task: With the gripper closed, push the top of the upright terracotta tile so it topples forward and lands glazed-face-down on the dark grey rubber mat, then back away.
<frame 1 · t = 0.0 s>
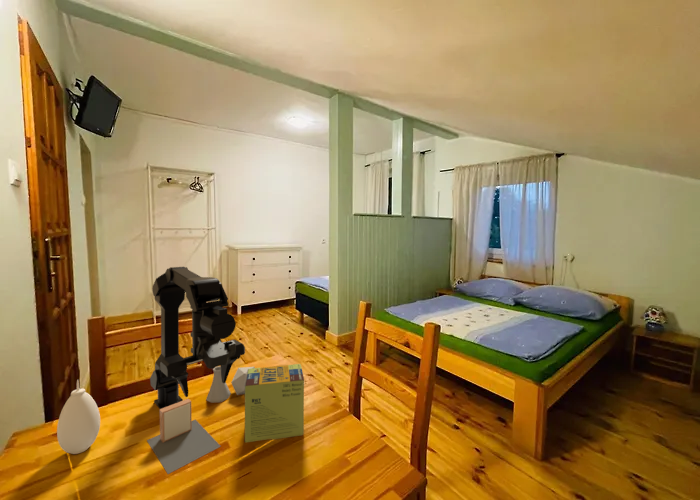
hand: (205, 389, 77), 15 cm above the table, fingers open, 9 cm apart
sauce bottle: (80, 451, 75), on the table
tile: (176, 434, 81), resting on mat
protein box: (274, 428, 85), on the table
mat: (183, 444, 77), on the table
pale grey faceted chunk: (245, 392, 103), on the table
flask: (218, 398, 99), on the table
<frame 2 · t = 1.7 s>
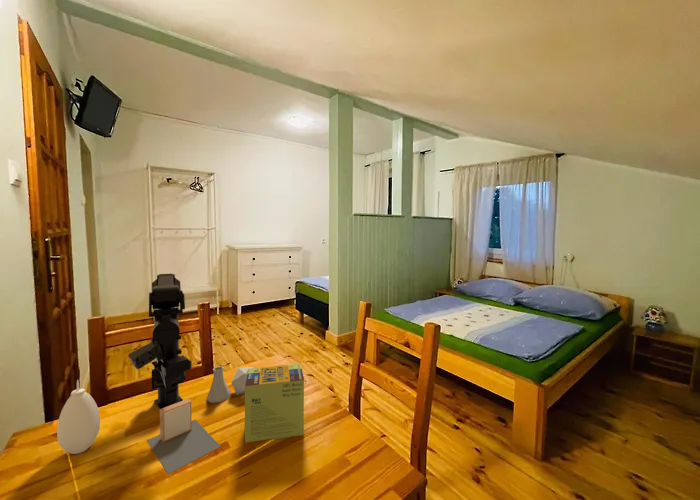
hand: (167, 387, 84), 11 cm above the table, fingers closed
nothing on the table moved.
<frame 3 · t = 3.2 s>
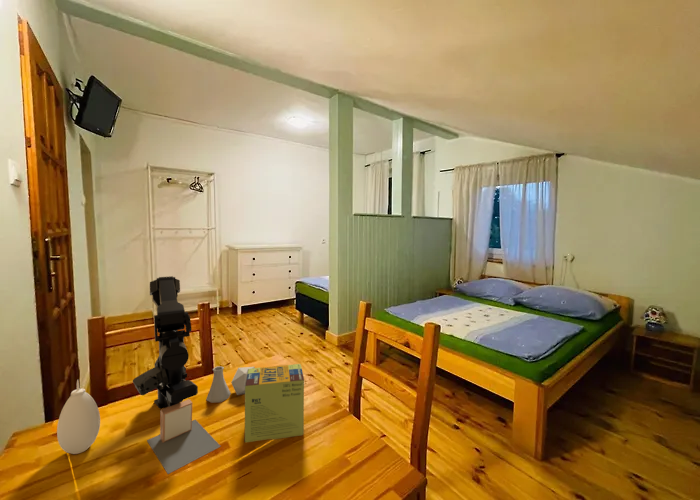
hand: (173, 412, 82), 6 cm above the table, fingers closed
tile: (176, 433, 81), resting on mat, tilted 6°, touching gripper
everything else where it was.
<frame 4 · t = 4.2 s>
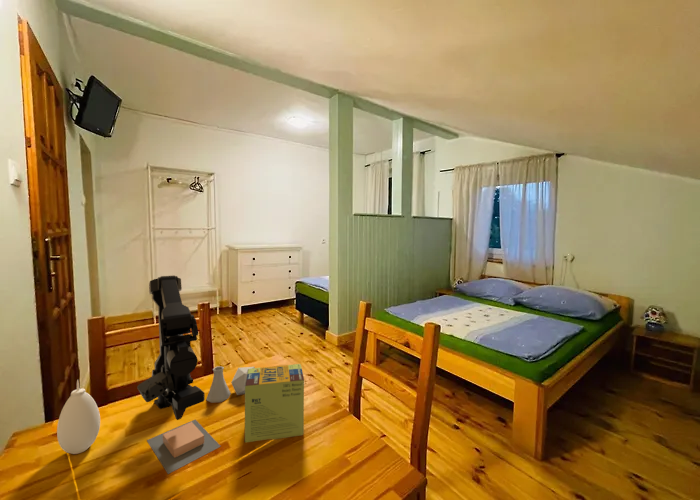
hand: (178, 418, 79), 6 cm above the table, fingers closed
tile: (177, 431, 80), point 2 cm above the table, tilted 90°, touching mat
everything else where it was.
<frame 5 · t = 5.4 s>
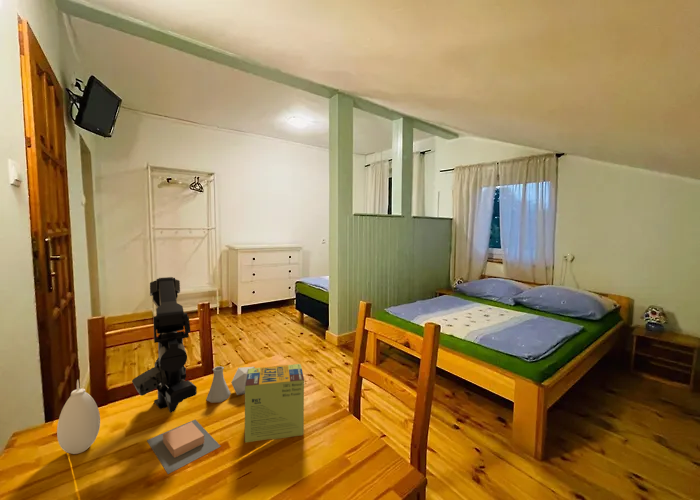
hand: (172, 411, 83), 5 cm above the table, fingers closed
nothing on the table moved.
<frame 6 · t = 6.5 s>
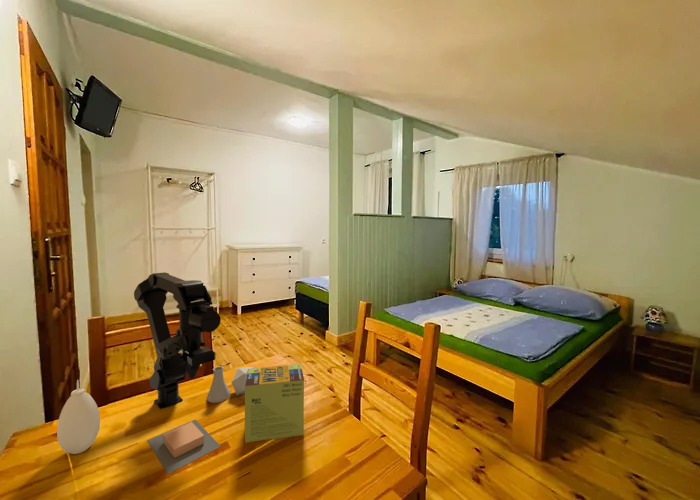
hand: (191, 378, 88), 12 cm above the table, fingers closed
nothing on the table moved.
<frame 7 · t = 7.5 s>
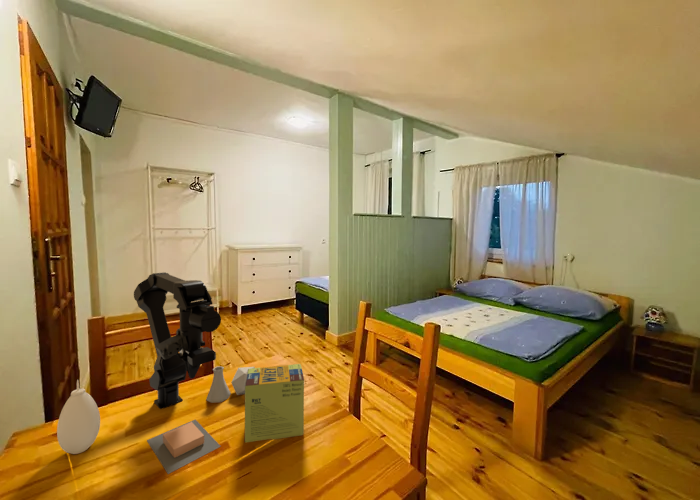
hand: (191, 377, 88), 12 cm above the table, fingers closed
nothing on the table moved.
at the end: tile tilted 90°; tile inside the target area on the mat (4.3 cm from its centre), point 1.7 cm above the mat's base; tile touching mat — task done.
